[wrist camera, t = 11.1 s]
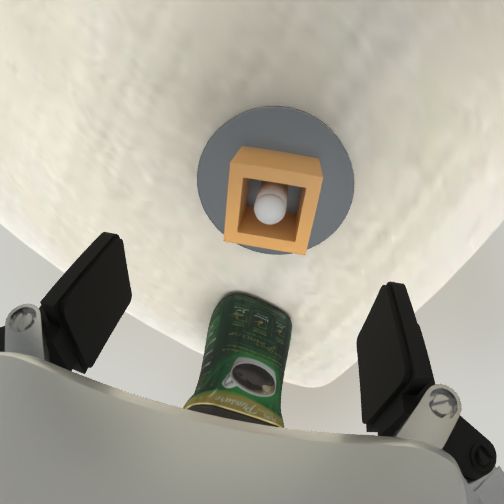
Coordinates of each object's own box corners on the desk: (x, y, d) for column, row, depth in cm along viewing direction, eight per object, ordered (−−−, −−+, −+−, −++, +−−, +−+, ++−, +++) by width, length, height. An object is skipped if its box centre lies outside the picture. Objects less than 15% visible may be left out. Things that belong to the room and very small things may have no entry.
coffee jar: (205, 322, 40) (161, 452, 24) (230, 281, 35) (183, 432, 20) (270, 350, 41) (251, 480, 25) (302, 316, 37) (294, 464, 21)
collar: (318, 158, 25) (323, 177, 21) (304, 225, 28) (305, 255, 24) (242, 145, 25) (230, 162, 21) (235, 213, 29) (223, 241, 25)
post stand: (366, 124, 24) (388, 142, 18) (331, 257, 32) (337, 303, 26) (207, 97, 25) (178, 106, 19) (198, 233, 32) (175, 274, 26)
